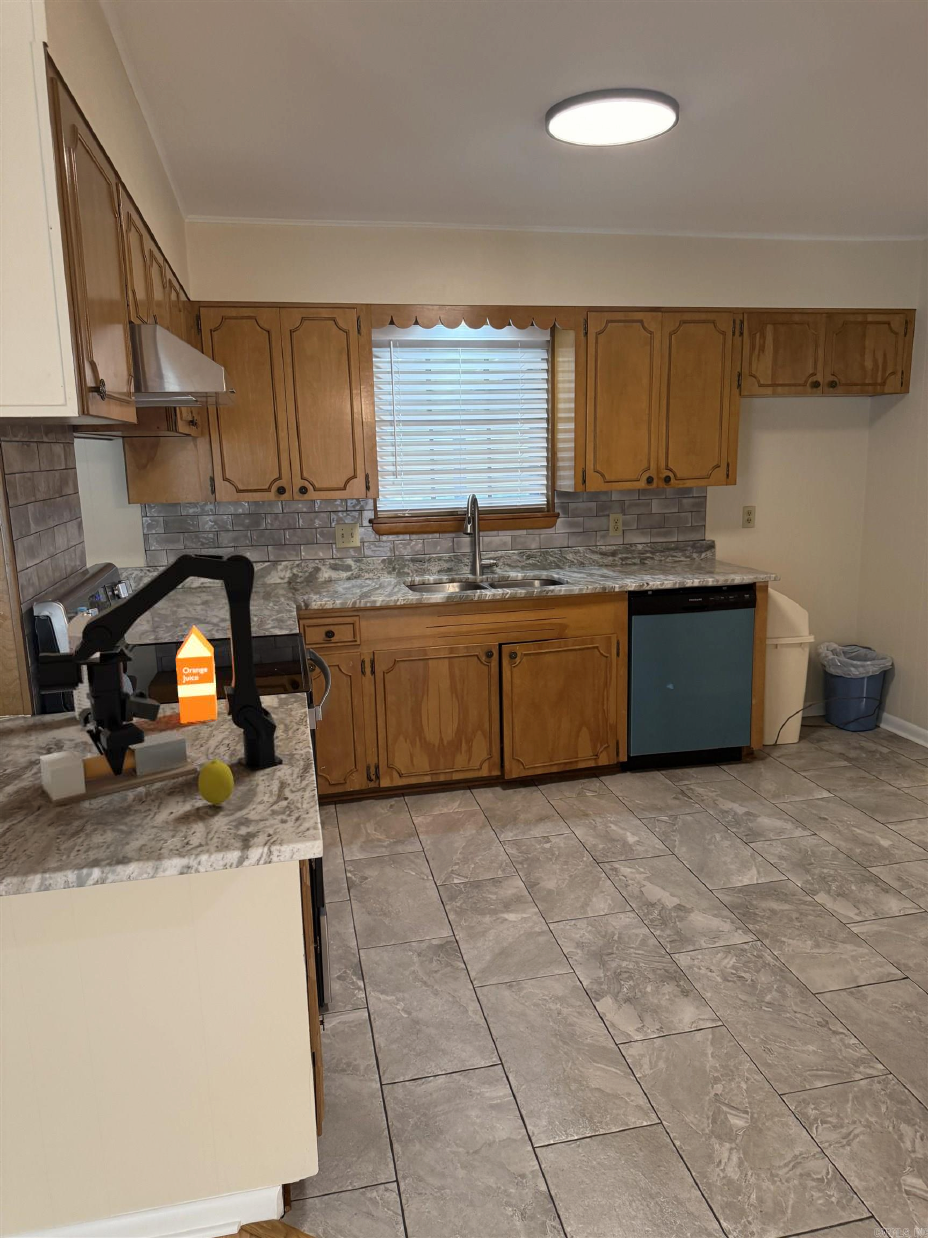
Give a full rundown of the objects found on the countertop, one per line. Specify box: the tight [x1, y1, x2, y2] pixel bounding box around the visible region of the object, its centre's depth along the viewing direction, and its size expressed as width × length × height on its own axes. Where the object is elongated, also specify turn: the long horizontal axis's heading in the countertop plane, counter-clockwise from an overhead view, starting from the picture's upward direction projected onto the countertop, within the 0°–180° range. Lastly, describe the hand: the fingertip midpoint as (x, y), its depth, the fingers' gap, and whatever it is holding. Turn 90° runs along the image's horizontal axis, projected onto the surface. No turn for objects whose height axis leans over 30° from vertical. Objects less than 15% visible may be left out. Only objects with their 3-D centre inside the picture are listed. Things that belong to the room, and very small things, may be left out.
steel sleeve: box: [127, 730, 188, 778], centre depth 152 cm, size 6×9×5 cm, turn 128°
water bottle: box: [66, 606, 101, 721], centre depth 183 cm, size 7×7×25 cm
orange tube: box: [81, 749, 136, 780], centre depth 149 cm, size 4×13×4 cm, turn 128°
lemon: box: [197, 759, 235, 807], centre depth 137 cm, size 6×6×8 cm
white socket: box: [39, 749, 86, 800], centre depth 143 cm, size 8×5×5 cm, turn 38°
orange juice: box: [175, 625, 218, 724], centre depth 184 cm, size 8×9×20 cm
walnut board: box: [41, 760, 198, 807], centre depth 149 cm, size 10×24×1 cm, turn 128°
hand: (114, 771), depth 148 cm, fingers closed on orange tube, 4 cm apart
